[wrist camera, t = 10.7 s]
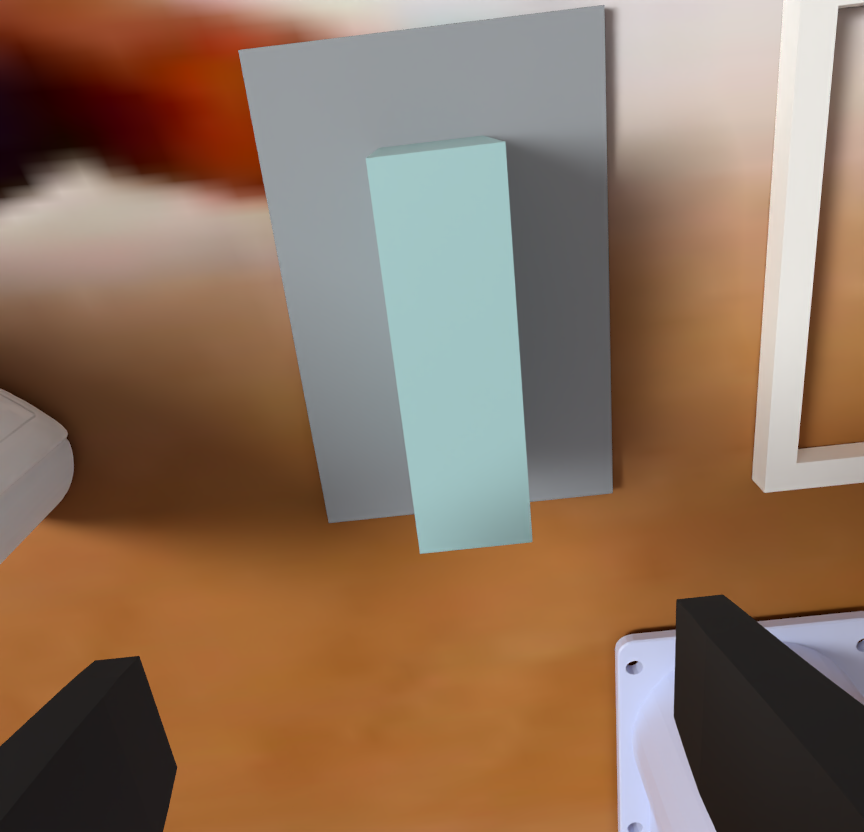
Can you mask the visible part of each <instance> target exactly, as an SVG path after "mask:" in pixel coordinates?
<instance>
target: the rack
mask: <svg viewBox="0 0 864 832" xmlns="http://www.w3.org/2000/svg"><path fill="white" fill-rule="evenodd" d="M863 5H864V0H783V16H782V31H781V46H780V61H779V76H778V91H777V107H776V122H775V137H774V152H773V167H772V182H771V198H770V213H769V228H768V243H767V258H766V274H765V289H764V304H763V319H762V334H761V349H760V365H759V380H758V395H757V410H756V425H755V441H754V456H753V471H752V480H753V481H754V482H755V483H756V484H757V485H758V486H759V487H760V489H761V490H762V491H763V492H764V493H768V492H777V491H787V490H796V489H806V488H815V487H825V486H834V485H844V484H853V483H863V482H864V442H860V443H850V444H841V445H832V446H822V447H813V448H803V449H798V441H799V431H800V420H801V409H802V398H803V387H804V376H805V365H806V354H807V343H808V332H809V321H810V310H811V299H812V289H813V278H814V267H815V256H816V245H817V234H818V223H819V212H820V201H821V190H822V179H823V168H824V157H825V147H826V136H827V125H828V114H829V103H830V92H831V81H832V70H833V59H834V48H835V37H836V26H837V16H838V8H847V7H855V6H863Z"/></svg>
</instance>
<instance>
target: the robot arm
mask: <svg viewBox="0 0 864 832" xmlns="http://www.w3.org/2000/svg"><path fill="white" fill-rule="evenodd" d="M861 639H864V611H856V612H846V613H836V614H826V615H816V616H806V617H796V618H786V619H776V620H766V621H755V620H754V619H753V618H752V617H751V616H749V615H748V614H747V613H746V612H744V611H743V610H742V609H741V608H739V607H738V606H737V605H736V604H734V603H733V602H732V601H731V600H729V599H728V598H727V597H725V596H724V595H715V596H705V597H696V598H686V599H677V603H676V630H667V631H657V632H647V633H637V634H629V635H626V636H624V637H622V638H621V639H619V641H618V642H617V643H616V647H615V675H616V732H617V790H618V832H864V640H863V641H862V642H859V641H860V640H861ZM858 642H859V643H858ZM632 661H638V662H637V663H636V664H634V665H631V666H630V665H627V664H629V663H630V662H632ZM176 770H177V766H176V763H175V760H174V757H173V754H172V751H171V748H170V745H169V742H168V739H167V736H166V733H165V730H164V727H163V725H162V722H161V719H160V716H159V713H158V710H157V707H156V704H155V701H154V698H153V695H152V692H151V689H150V686H149V683H148V680H147V677H146V675H145V672H144V669H143V666H142V663H141V660H140V657H139V656H135V657H125V658H116V659H106V660H97V661H94V662H93V663H92V664H90V665H89V666H88V667H87V668H86V669H84V670H83V671H82V672H81V673H80V674H78V675H77V676H76V677H75V678H74V679H73V680H72V681H71V682H69V683H68V684H67V685H66V686H65V687H64V688H63V689H62V690H61V691H60V692H58V693H57V694H56V695H55V696H54V697H53V698H52V699H51V700H50V701H49V702H48V703H47V704H45V705H44V706H43V707H42V708H41V709H40V710H39V711H38V712H37V713H36V714H35V715H34V716H33V717H31V718H30V719H29V720H28V721H27V722H26V723H25V724H24V725H23V726H22V727H21V728H20V729H19V730H17V731H16V732H15V733H14V734H13V735H12V736H11V737H10V738H9V739H8V740H7V741H6V742H4V743H3V744H2V745H1V746H0V832H163V829H164V825H165V821H166V816H167V812H168V808H169V803H170V799H171V794H172V789H173V784H174V780H175V775H176Z"/></svg>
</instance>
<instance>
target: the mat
mask: <svg viewBox="0 0 864 832" xmlns="http://www.w3.org/2000/svg"><path fill="white" fill-rule="evenodd" d="M238 51H239V56H240V61H241V67H242V72H243V77H244V82H245V88H246V93H247V98H248V103H249V109H250V114H251V119H252V124H253V129H254V135H255V140H256V145H257V150H258V156H259V161H260V166H261V171H262V176H263V182H264V187H265V192H266V197H267V203H268V208H269V213H270V218H271V224H272V229H273V234H274V239H275V244H276V250H277V255H278V260H279V265H280V271H281V276H282V281H283V286H284V291H285V297H286V302H287V307H288V312H289V318H290V323H291V328H292V333H293V339H294V344H295V349H296V354H297V359H298V365H299V370H300V375H301V380H302V386H303V391H304V396H305V401H306V406H307V412H308V417H309V422H310V427H311V433H312V438H313V443H314V448H315V454H316V459H317V464H318V469H319V474H320V480H321V485H322V490H323V495H324V501H325V506H326V511H327V516H328V521H329V523H335V522H344V521H353V520H363V519H372V518H382V517H391V516H401V515H410V514H415V513H414V506H413V498H412V491H411V484H410V477H409V469H408V462H407V455H406V448H405V440H404V433H403V426H402V419H401V411H400V404H399V397H398V390H397V382H396V375H395V368H394V361H393V353H392V346H391V339H390V332H389V324H388V317H387V310H386V303H385V295H384V288H383V281H382V274H381V266H380V259H379V252H378V245H377V237H376V230H375V223H374V216H373V208H372V201H371V194H370V187H369V179H368V172H367V165H366V158H367V157H368V156H369V155H371V154H372V153H373V152H374V151H376V150H377V149H378V148H382V147H391V146H399V145H408V144H416V143H424V142H433V141H441V140H450V139H458V138H466V137H475V136H487V137H490V138H494V139H497V140H501V141H505V143H506V158H507V173H508V188H509V202H510V217H511V232H512V247H513V262H514V277H515V291H516V306H517V321H518V336H519V351H520V365H521V380H522V395H523V410H524V425H525V440H526V454H527V469H528V484H529V499H530V502H533V501H543V500H552V499H562V498H571V497H581V496H590V495H600V494H609V493H613V479H612V420H611V362H610V304H609V246H608V188H607V130H606V72H605V14H604V5H600V6H592V7H584V8H576V9H568V10H560V11H551V12H543V13H535V14H527V15H519V16H511V17H503V18H495V19H487V20H479V21H471V22H462V23H454V24H446V25H438V26H430V27H422V28H414V29H406V30H398V31H390V32H382V33H373V34H365V35H357V36H349V37H341V38H333V39H325V40H317V41H309V42H301V43H292V44H284V45H276V46H268V47H260V48H252V49H244V50H238Z"/></svg>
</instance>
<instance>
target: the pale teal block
mask: <svg viewBox="0 0 864 832" xmlns="http://www.w3.org/2000/svg"><path fill="white" fill-rule="evenodd" d="M366 165H367V172H368V179H369V187H370V194H371V201H372V208H373V216H374V223H375V230H376V237H377V245H378V252H379V259H380V266H381V274H382V281H383V288H384V295H385V303H386V310H387V317H388V324H389V332H390V339H391V346H392V353H393V361H394V368H395V375H396V382H397V390H398V397H399V404H400V411H401V419H402V426H403V433H404V440H405V448H406V455H407V462H408V469H409V477H410V484H411V491H412V498H413V506H414V513H415V520H416V527H417V535H418V542H419V549H420V554H422V553H432V552H442V551H451V550H461V549H470V548H480V547H490V546H499V545H509V544H518V543H528V542H532V529H531V514H530V499H529V484H528V469H527V454H526V440H525V425H524V410H523V395H522V380H521V365H520V351H519V336H518V321H517V306H516V291H515V277H514V262H513V247H512V232H511V217H510V202H509V188H508V173H507V158H506V143H505V141H501V140H497V139H494V138H490V137H487V136H475V137H466V138H458V139H450V140H441V141H433V142H424V143H416V144H408V145H399V146H391V147H382V148H378V149H377V150H376V151H374V152H373V153H372V154H371V155H369V156H368V157H367V158H366Z"/></svg>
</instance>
